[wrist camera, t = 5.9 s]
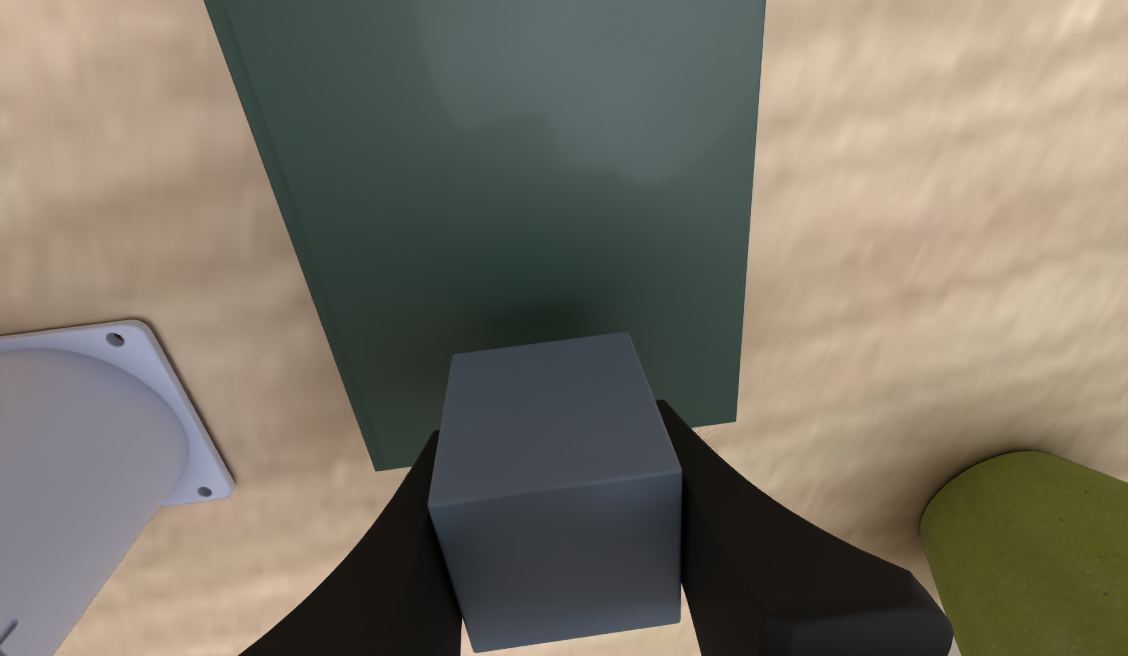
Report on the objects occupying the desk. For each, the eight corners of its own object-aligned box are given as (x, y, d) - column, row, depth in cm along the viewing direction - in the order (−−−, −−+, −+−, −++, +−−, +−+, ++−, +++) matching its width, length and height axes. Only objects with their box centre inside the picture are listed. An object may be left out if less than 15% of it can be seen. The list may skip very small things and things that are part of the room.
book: (388, 426, 22) (375, 471, 19) (239, -24, 14) (191, -33, 12) (713, 382, 22) (736, 421, 20) (733, -79, 15) (772, -97, 12)
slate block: (482, 482, 16) (473, 655, 12) (451, 353, 14) (426, 505, 9) (635, 461, 16) (681, 624, 12) (628, 329, 14) (683, 470, 10)
